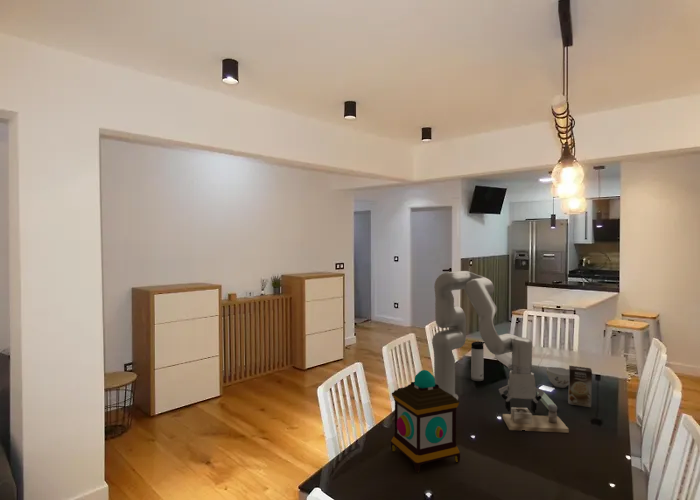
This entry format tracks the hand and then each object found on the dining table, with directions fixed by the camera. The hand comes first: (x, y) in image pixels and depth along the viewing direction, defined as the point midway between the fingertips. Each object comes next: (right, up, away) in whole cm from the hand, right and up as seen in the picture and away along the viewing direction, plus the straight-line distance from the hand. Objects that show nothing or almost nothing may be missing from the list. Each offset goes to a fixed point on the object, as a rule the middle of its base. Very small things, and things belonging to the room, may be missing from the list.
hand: (520, 410), depth 179 cm
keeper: (+13, +1, +5) cm, 14 cm away
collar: (0, -4, 0) cm, 4 cm away
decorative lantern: (-43, -6, -26) cm, 51 cm away
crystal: (+25, -3, +88) cm, 91 cm away
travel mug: (-1, -4, +56) cm, 57 cm away
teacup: (+38, -4, +47) cm, 60 cm away
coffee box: (+35, -5, +22) cm, 42 cm away
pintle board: (+5, -5, -1) cm, 7 cm away
